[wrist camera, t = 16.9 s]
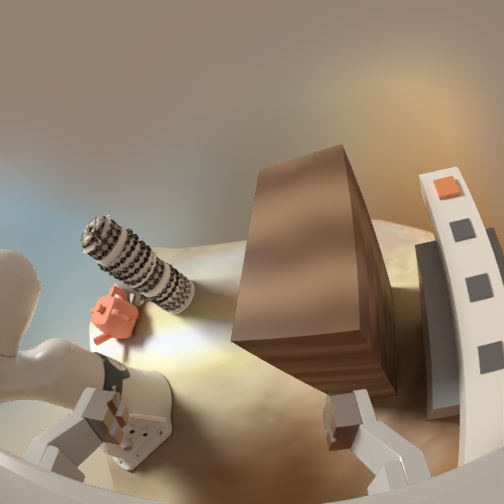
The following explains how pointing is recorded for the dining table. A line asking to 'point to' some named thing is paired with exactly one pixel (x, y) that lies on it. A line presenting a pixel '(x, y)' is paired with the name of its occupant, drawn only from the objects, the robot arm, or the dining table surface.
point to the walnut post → (317, 279)
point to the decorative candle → (136, 264)
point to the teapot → (114, 316)
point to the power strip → (470, 309)
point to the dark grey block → (441, 329)
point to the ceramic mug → (130, 290)
